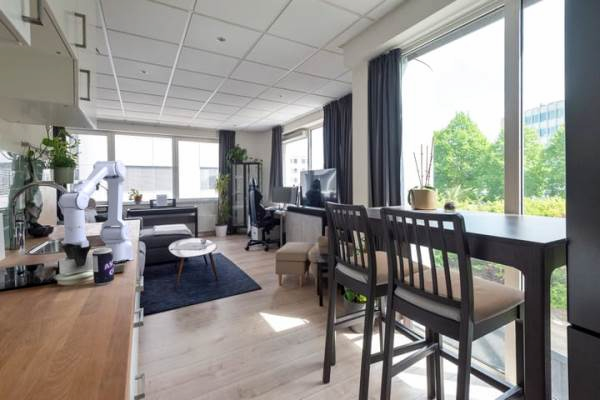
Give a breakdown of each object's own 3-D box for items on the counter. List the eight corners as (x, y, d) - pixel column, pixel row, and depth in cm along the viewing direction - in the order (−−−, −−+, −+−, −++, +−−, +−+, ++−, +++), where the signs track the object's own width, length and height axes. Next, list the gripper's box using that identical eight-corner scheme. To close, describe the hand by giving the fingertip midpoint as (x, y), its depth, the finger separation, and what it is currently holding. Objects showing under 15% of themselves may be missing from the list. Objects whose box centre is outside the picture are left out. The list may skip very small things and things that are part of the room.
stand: (89, 272, 107) (89, 266, 107) (105, 277, 101) (104, 270, 101) (49, 282, 97) (49, 275, 97) (64, 288, 91) (63, 280, 90)
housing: (86, 267, 103) (85, 253, 103) (93, 269, 101) (92, 254, 100) (59, 273, 96) (58, 258, 96) (65, 275, 94) (64, 260, 93)
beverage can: (106, 286, 92) (104, 250, 92) (89, 286, 93) (87, 250, 92) (117, 280, 98) (116, 246, 97) (102, 280, 98) (100, 246, 97)
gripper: (52, 227, 98) (54, 264, 99) (70, 230, 91) (72, 271, 91) (76, 224, 104) (78, 260, 105) (94, 227, 97) (96, 265, 97)
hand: (77, 265), depth 99 cm, fingers closed on housing, 5 cm apart
